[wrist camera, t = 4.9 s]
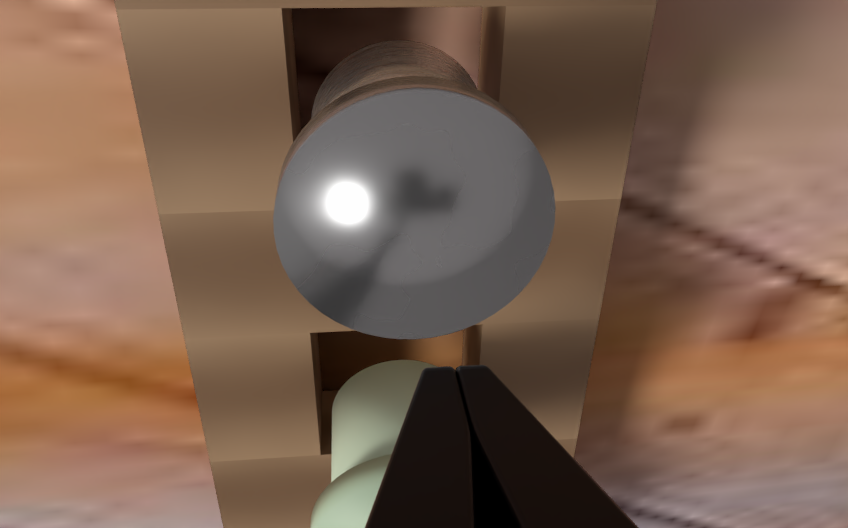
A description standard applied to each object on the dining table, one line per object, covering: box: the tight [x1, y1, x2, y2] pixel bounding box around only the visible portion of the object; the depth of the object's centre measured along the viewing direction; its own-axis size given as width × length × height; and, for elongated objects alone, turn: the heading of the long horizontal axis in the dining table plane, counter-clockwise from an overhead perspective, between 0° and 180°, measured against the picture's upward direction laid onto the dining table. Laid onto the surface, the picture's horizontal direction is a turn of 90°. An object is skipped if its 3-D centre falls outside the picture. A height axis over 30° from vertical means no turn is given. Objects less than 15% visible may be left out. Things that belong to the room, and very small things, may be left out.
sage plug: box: [310, 360, 437, 528], centre depth 20 cm, size 5×5×5 cm
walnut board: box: [114, 0, 657, 528], centre depth 24 cm, size 28×12×3 cm, turn 179°
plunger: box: [273, 40, 555, 339], centre depth 15 cm, size 5×5×5 cm
